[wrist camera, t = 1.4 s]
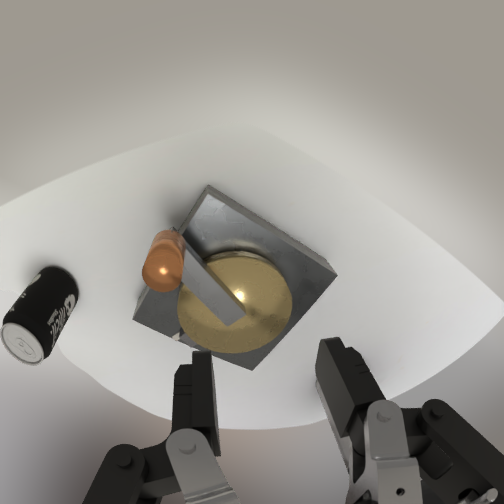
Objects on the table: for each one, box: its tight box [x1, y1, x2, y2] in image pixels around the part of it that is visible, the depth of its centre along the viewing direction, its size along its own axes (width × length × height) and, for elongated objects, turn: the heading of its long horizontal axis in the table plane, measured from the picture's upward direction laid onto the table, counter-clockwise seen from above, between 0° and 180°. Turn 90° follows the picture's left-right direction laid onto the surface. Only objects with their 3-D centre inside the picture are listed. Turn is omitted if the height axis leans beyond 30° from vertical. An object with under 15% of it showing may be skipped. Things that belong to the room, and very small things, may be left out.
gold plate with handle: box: [142, 227, 292, 353], centre depth 28 cm, size 18×13×8 cm
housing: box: [133, 185, 338, 370], centre depth 35 cm, size 17×17×4 cm
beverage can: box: [0, 268, 78, 366], centre depth 29 cm, size 7×7×12 cm
